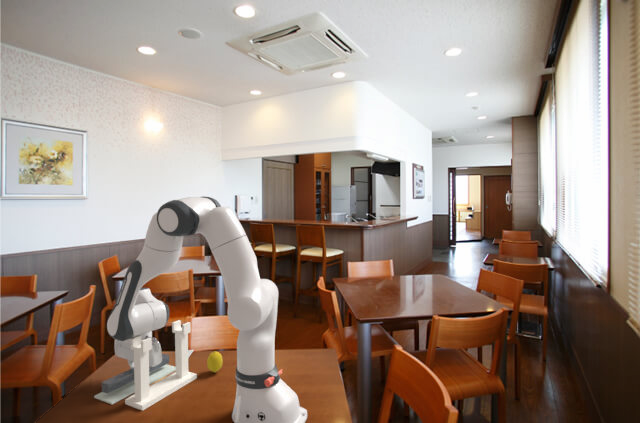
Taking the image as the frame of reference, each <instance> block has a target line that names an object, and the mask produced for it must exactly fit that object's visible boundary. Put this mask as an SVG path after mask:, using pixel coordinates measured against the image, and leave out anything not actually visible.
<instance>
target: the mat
mask: <svg viewBox="0 0 640 423" xmlns="http://www.w3.org/2000/svg"><path fill="white" fill-rule="evenodd" d="M175 372H176V366H174V365H170V364H166V365H164V366H162V367H160V368H158V369H156V370H154V371H152V372H150V373H149V385H152V384H154V383H156V382H158V381H160V380H162V379H164V378H165V377H167V376H169V375H171V374H173V373H175ZM134 394H135V383H134V381H132V382H130V383H128V384H126V385H124V386H122V387H120V388H118V389H116V390H114V391H112V392H110V393H108V394H107V393H104V392H102V391H101V392H99V393H97V394H95V395H93V396H94V397H93V398H94V399H97V400H99V401H102V402H104V403H107V404H110V405H114V404H116V403H118V402H120V401H121V400H124V399H126V398H128V397H130V396H132V395H134Z"/></svg>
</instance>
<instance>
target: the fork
mask: <svg viewBox="0 0 640 423" xmlns="http://www.w3.org/2000/svg"><path fill="white" fill-rule="evenodd" d="M194 350H195V349H188V359H189V358H190V356H191V355H192V354H193V352H194Z"/></svg>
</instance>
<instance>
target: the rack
mask: <svg viewBox="0 0 640 423" xmlns="http://www.w3.org/2000/svg"><path fill="white" fill-rule="evenodd" d="M191 327H192V326H191V322H190V321H188V322H185V323H183V324H182V320H180V319H178V320H175V321H173V322H171V332H172V334H174V346H175V349H174V350H175V354H174V355H175V356H174V357H175V359H174V360H175V367H176V371H174V372H172V373H170V374H168V375H167V376H165V377H163V378H161V379H159V380H157V381H155V382H154V383H152V384H149V350H151V349H152V338H153V337H152V338H147V339H145V340H142V341H141V335H138V336H136V337H133V338H131V350H134V383H135V393H133V394H131V395H130V396H128V397H126V398H124V403H125V405H127V406H129V407H131V408H134V409H137V410H141V411H144V410H146V409H148V408H149V407H151V406H152V405H155V404H156V403H157V402H159V401H161V400H163V399H164V398H166V397H168V396H170V395H171V394H173V393H174V392H177V391H178V390H179V389H181V388H183V387H184V386H186V385H188V384H189V383H191V382H193V381H194V380H196V379H198V374H197V373H194V372H191V371H189V358H188V350H189V334H190V333H191V332H192V328H191Z"/></svg>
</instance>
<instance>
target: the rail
mask: <svg viewBox="0 0 640 423" xmlns="http://www.w3.org/2000/svg"><path fill="white" fill-rule="evenodd" d="M166 364H167V365H169V364H170V355H169V354H166V353H162V362H161V363H160V364H159V365H157V366H154V367H151V366H149V373H150V372H152V371H154V370H156V369H158V368H160V367H162V366H164V365H166ZM132 381H134V368H132V369H128V370H126V371H123V372H121V373H119V374H117V375H114V376H112V377H109V379H108V378H107V379H105V380H103V381H102V382H101V392H104V393H107V394H108V393H110V392H112V391H114V390H116V389H118V388H120V387H122V386H124V385H126V384H128V383H130V382H132Z"/></svg>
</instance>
